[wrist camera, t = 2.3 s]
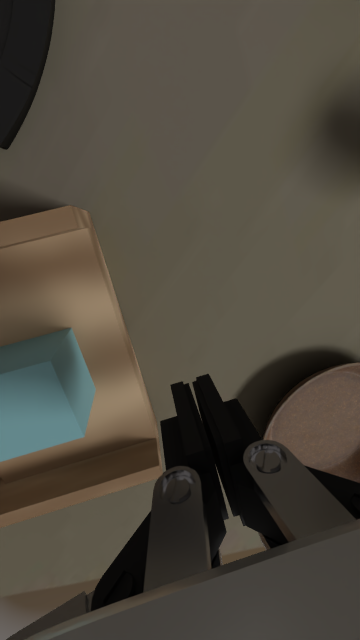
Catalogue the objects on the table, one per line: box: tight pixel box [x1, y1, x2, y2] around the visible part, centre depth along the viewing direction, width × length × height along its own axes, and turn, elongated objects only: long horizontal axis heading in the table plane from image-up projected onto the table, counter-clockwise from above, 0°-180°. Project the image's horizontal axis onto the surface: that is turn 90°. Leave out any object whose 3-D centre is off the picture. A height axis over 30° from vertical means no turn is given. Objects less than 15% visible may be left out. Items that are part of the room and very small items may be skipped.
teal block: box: [0, 328, 96, 462], centre depth 15 cm, size 4×4×4 cm
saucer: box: [263, 362, 360, 483], centre depth 25 cm, size 15×15×3 cm
